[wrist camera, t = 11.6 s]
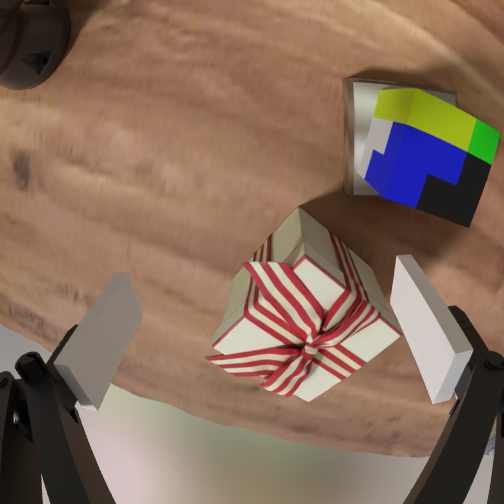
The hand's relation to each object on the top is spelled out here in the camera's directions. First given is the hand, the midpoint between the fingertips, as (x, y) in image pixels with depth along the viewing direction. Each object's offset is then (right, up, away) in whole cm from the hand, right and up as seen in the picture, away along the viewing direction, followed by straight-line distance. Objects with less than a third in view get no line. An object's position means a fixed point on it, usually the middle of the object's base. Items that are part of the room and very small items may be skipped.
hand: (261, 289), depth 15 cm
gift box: (+5, -1, +30) cm, 31 cm away
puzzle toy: (+17, +14, +17) cm, 28 cm away
